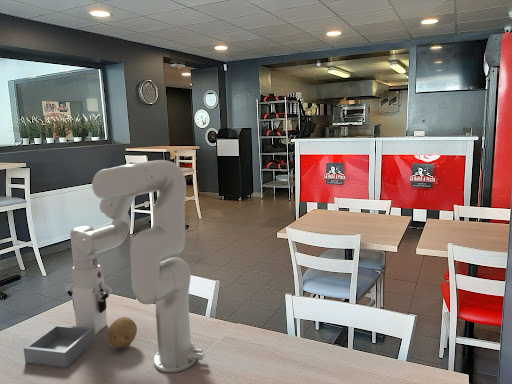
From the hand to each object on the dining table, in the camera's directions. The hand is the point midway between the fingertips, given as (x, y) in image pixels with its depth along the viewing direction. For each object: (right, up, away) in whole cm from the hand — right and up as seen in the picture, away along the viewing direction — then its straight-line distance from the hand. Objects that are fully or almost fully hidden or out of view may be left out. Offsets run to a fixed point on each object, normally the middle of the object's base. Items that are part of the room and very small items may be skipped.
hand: (90, 309), depth 137 cm
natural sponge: (+15, -9, -11) cm, 21 cm away
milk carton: (0, -7, +1) cm, 7 cm away
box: (-4, -10, -13) cm, 16 cm away
